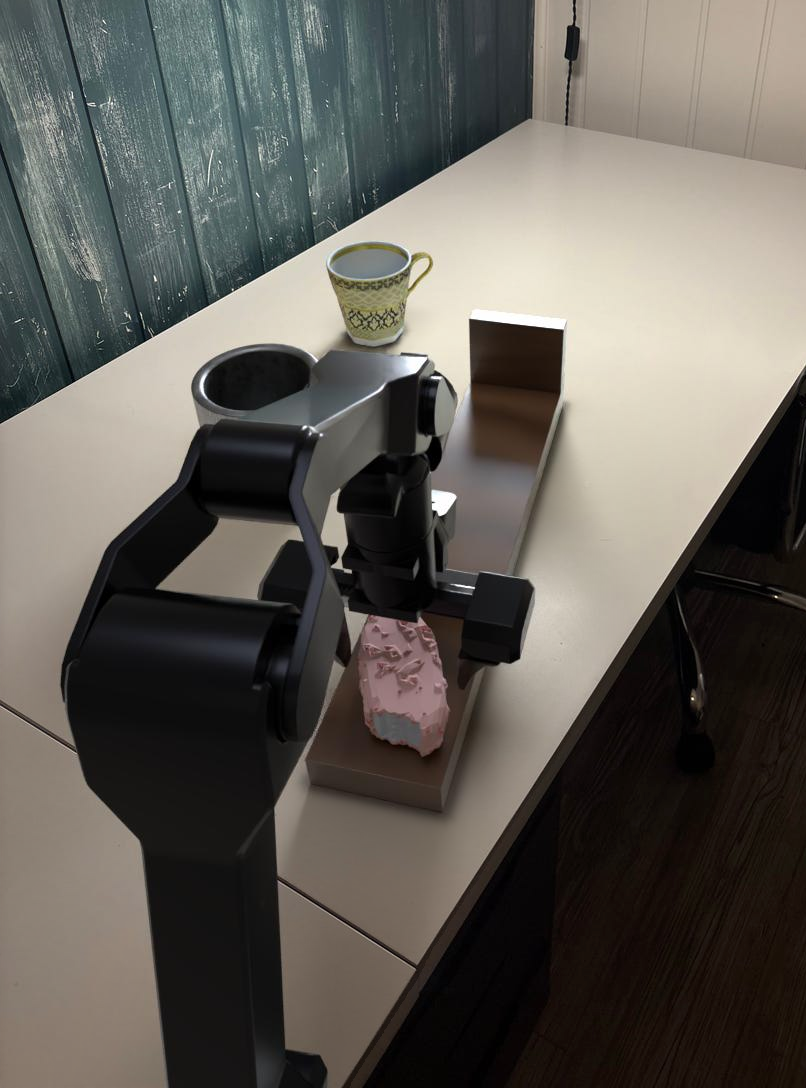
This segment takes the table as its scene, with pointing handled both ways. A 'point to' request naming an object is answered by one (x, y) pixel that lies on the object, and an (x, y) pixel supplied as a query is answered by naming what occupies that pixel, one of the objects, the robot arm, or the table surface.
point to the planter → (248, 380)
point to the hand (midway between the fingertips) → (404, 673)
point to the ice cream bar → (403, 683)
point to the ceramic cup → (373, 288)
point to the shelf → (461, 547)
